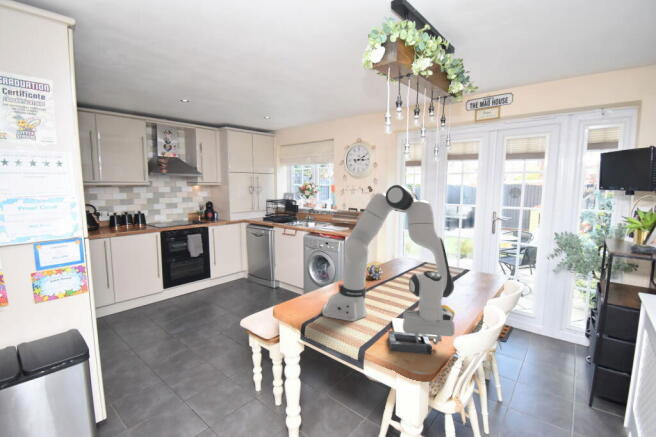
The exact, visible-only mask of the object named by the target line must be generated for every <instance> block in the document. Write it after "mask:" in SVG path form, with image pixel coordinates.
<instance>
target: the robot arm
mask: <svg viewBox="0 0 656 437" xmlns="http://www.w3.org/2000/svg"><path fill="white" fill-rule="evenodd" d="M392 211H395V212H400V213H406V214H407V222H408V223H407V229H408V237H409V238H410V240H411V241H412V242H413V243H415V244H416V245H418V246H420V247H422V248H425V249H427V250H429V251H430V252H432V254H433V256H434V261H435V265H436V266H435V267H436V270H437V271H434V270H426V271H424V272H422V273H419V272H418V273H414V274H413V275H411V277H410V278H409V281H408V288H409V291H410V292H411V294H413V295H414V296H415V297H418V298H419V301H418V310H414V309H413V310H411V309H406V310H405V311H404V312H402V313H403V314H402V319H404V320H403V330H404V332H406V333H414V334H415V336H416V342H417V343H418V344H422V343H421V339H420V337H418V335H419V334H428V335H437V337H436V338H435V339H432V344H433V345H434V346H435V345H438V343H439V341H440V338H441V336H442V337H453V336H454V335H455V333H456V332H455V322H454V321H453V320H454V316H453V315H452V313H451V312H450V311H449V310H448V309H446V308H443V307H442V305H443V304H442V300H443V298H448V297H450V295H452V294H453V292H454V290H455V283H454V280H453V278H452V274H451V271H450V266H449V263H448V262H449V261H448V258H447V256H448V255H447V252H446V248H445V244H444V241H443V239H442V237H440V236H438V234H437V232H436V229H435V221H434V220H435V218H434V213H433V212H434V211H433V207H432V205H431V203H430V202H428V201H426V200H423V199H420V200H419V199H418V197H417V195H416V194H415V192H413V191H412V190H411V189H410V188H408V187H406V186H404V185H402V184H394V185H391V186H390V187H389V188H387V190H386V192H380V191H379V192H377V193H375V194H374V195H373V196H372V198H371V199H370V200H369V202H368V203H367V205H366V206H365V209H364V210H363V212H362V213H361V216H360V218H359V220H358V221H357V223H356V224H355V226H354V227H353V229H352V231H351V232H350V234H348V237H347V238H346V240H345V243H344V262H343V263H344V264H343V265H344V266H343V281H342V282H339V283H338V291H337V292H336V293H334V294H333V295H330V297H329V298H328V301H327V303H326V304H325V305H324V306H322V311H321V313H322V316H323V317H327V318H330V319H331V318H333V319H337V320H343V321H350V322H355V321H357V320H359V319H363V318H365V317H367V315H368V313H367V310H366V309H367V307H366V296H367V288H366V287H367V286H366V276H367V268H368V261H369V260H368V258H369V245H370V244H371V242H372V241H373V240H374V238H375V237H376V236H377V235H378V234H379V231H380V230H381V228H382V227H383V225H384V223H385V221H386V220H387V218H388V216H389V214H390V213H391V212H392ZM416 342H415V343H416Z"/></svg>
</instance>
